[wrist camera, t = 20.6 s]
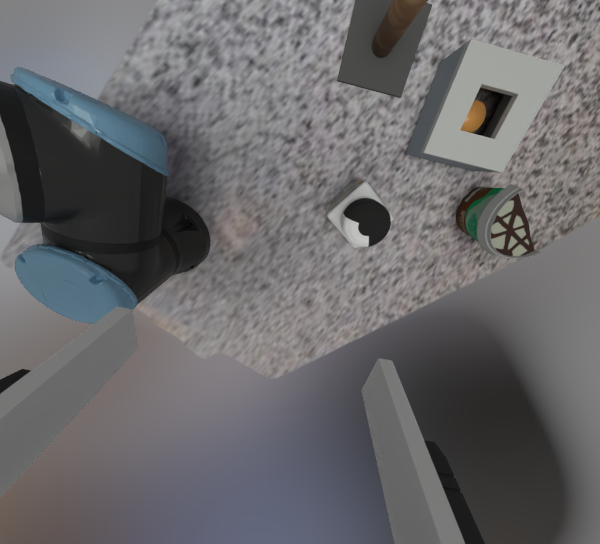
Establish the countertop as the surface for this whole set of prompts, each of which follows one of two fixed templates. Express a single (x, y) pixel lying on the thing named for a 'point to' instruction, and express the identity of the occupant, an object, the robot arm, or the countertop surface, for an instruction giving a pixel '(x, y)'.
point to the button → (474, 117)
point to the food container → (497, 221)
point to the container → (359, 214)
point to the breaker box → (461, 94)
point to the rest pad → (361, 60)
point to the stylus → (395, 25)
